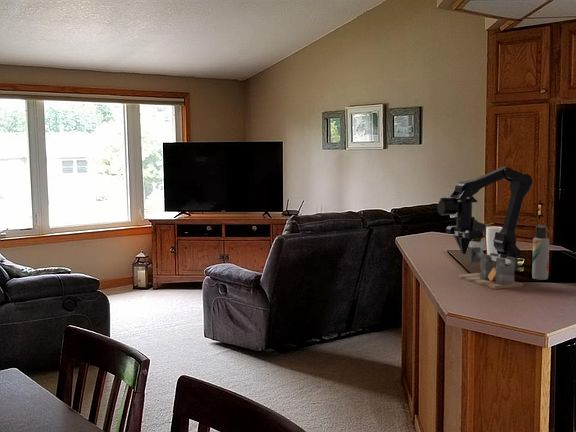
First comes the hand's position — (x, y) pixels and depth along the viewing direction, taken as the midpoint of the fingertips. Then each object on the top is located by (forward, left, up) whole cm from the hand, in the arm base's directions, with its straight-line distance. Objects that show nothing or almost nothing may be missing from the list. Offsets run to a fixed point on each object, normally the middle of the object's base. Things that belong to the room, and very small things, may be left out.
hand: (463, 253), depth 254 cm
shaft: (0, +16, -2) cm, 16 cm away
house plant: (-35, -38, -8) cm, 53 cm away
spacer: (0, +19, -6) cm, 20 cm away
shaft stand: (0, +16, -8) cm, 18 cm away
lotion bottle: (-21, +19, -8) cm, 29 cm away
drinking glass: (-28, -18, -8) cm, 35 cm away
